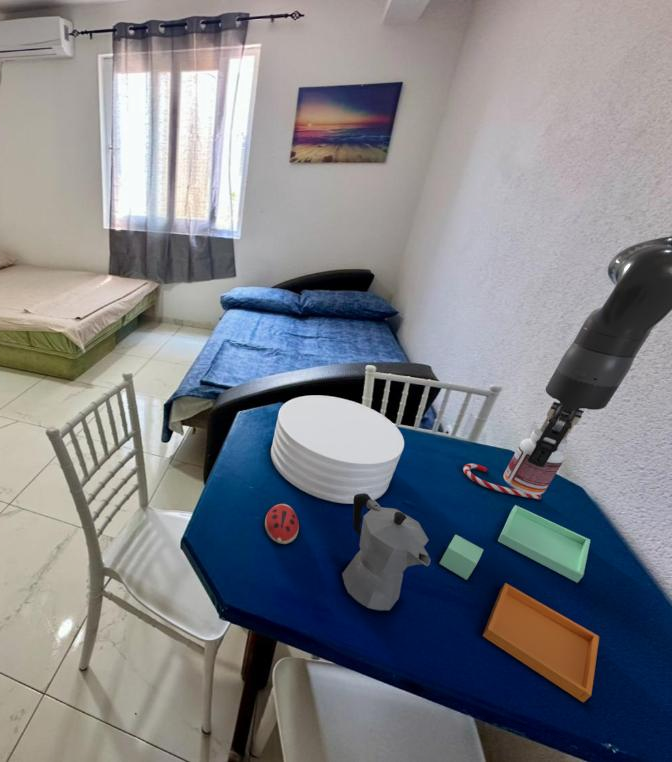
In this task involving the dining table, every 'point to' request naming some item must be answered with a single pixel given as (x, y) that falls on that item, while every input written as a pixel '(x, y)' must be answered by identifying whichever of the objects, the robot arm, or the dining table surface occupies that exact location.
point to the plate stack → (335, 448)
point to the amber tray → (544, 641)
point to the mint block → (461, 557)
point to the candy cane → (493, 486)
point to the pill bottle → (533, 466)
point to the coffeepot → (382, 553)
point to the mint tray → (546, 543)
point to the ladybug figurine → (282, 524)
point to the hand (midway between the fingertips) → (539, 456)
